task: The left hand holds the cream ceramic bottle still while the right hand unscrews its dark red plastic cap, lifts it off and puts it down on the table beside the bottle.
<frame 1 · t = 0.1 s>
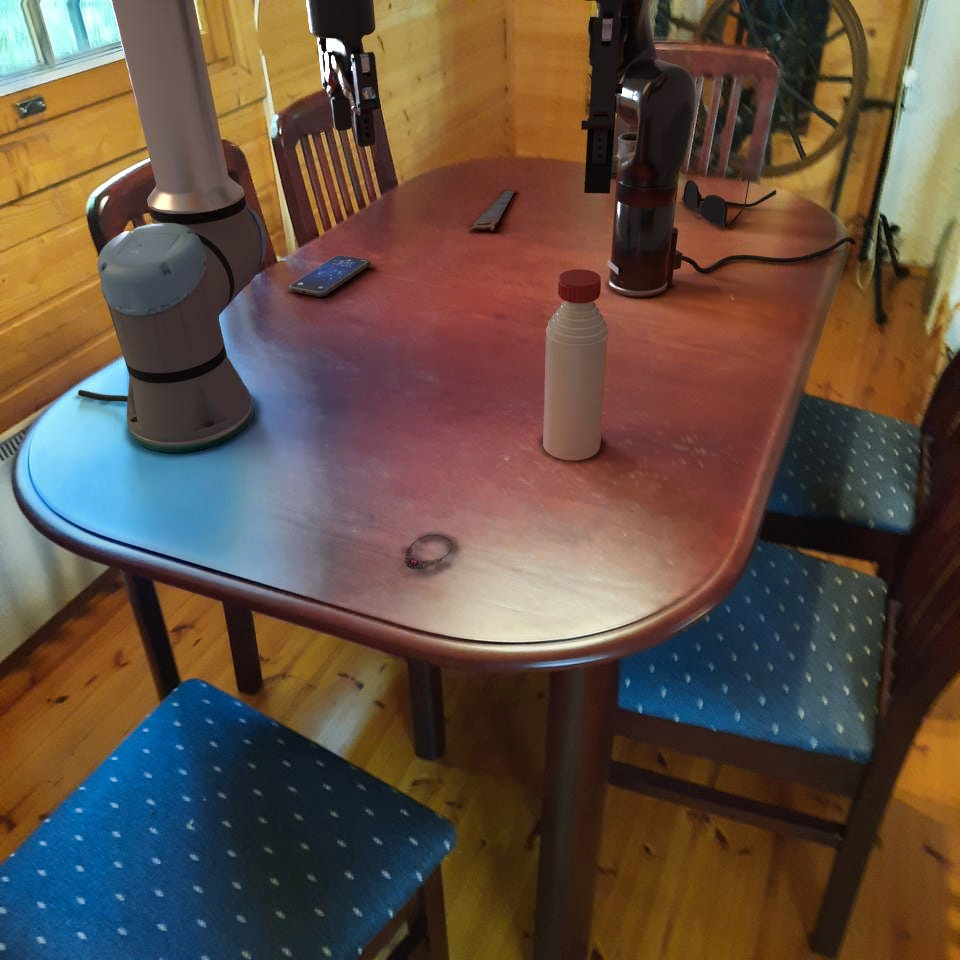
left hand: (599, 173, 96), 28 cm above the table, tool pointing down, fingers open, 13 cm apart
right hand: (354, 137, 106), 29 cm above the table, tool pointing down, fingers open, 8 cm apart
ring: (427, 555, 87), on the table
sunglasses: (729, 212, 165), on the table
cap: (579, 280, 90), point 21 cm above the table, screwed on, not yet turned
pipe: (619, 176, 184), on the table
smartphone: (331, 278, 143), on the table
bottle: (571, 444, 103), on the table
hand saw: (497, 212, 168), on the table
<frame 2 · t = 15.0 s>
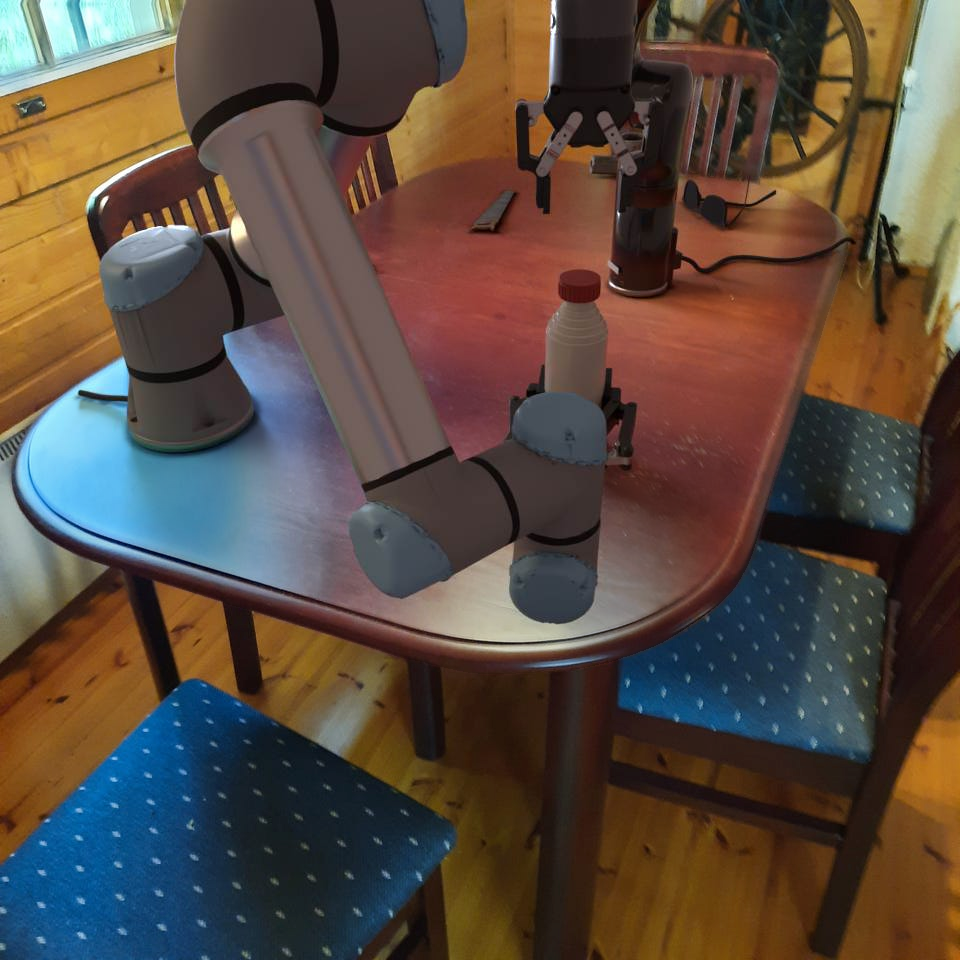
left hand: (576, 376, 103), 6 cm above the table, tool horizontal, fingers closed on bottle, 7 cm apart
right hand: (583, 210, 86), 28 cm above the table, tool pointing down, fingers open, 7 cm apart
bottle: (571, 444, 103), on the table, touching left hand
everything else where it was.
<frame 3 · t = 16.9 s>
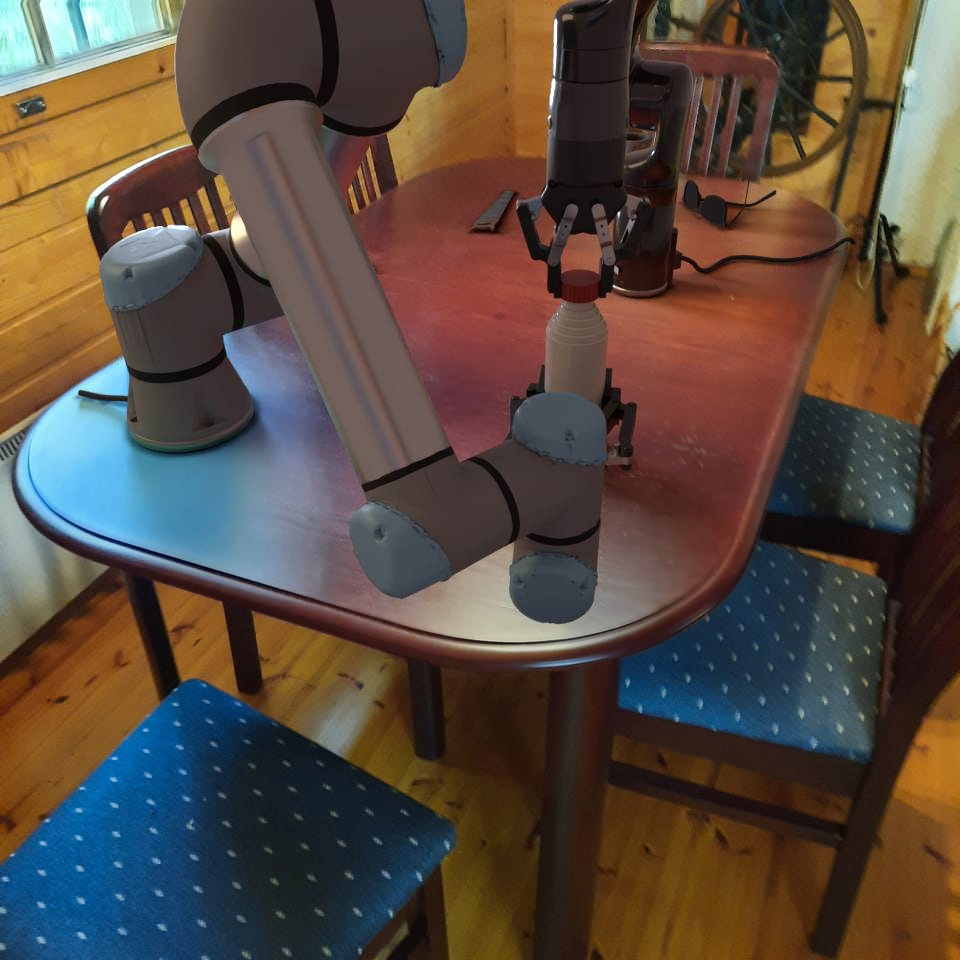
left hand: (576, 376, 103), 6 cm above the table, tool horizontal, fingers closed on bottle, 7 cm apart
right hand: (578, 294, 91), 19 cm above the table, tool pointing down, fingers closed on cap, 4 cm apart
cap: (579, 280, 90), point 21 cm above the table, screwed on, not yet turned, touching right hand
bottle: (571, 444, 103), on the table, touching left hand
everything else where it was.
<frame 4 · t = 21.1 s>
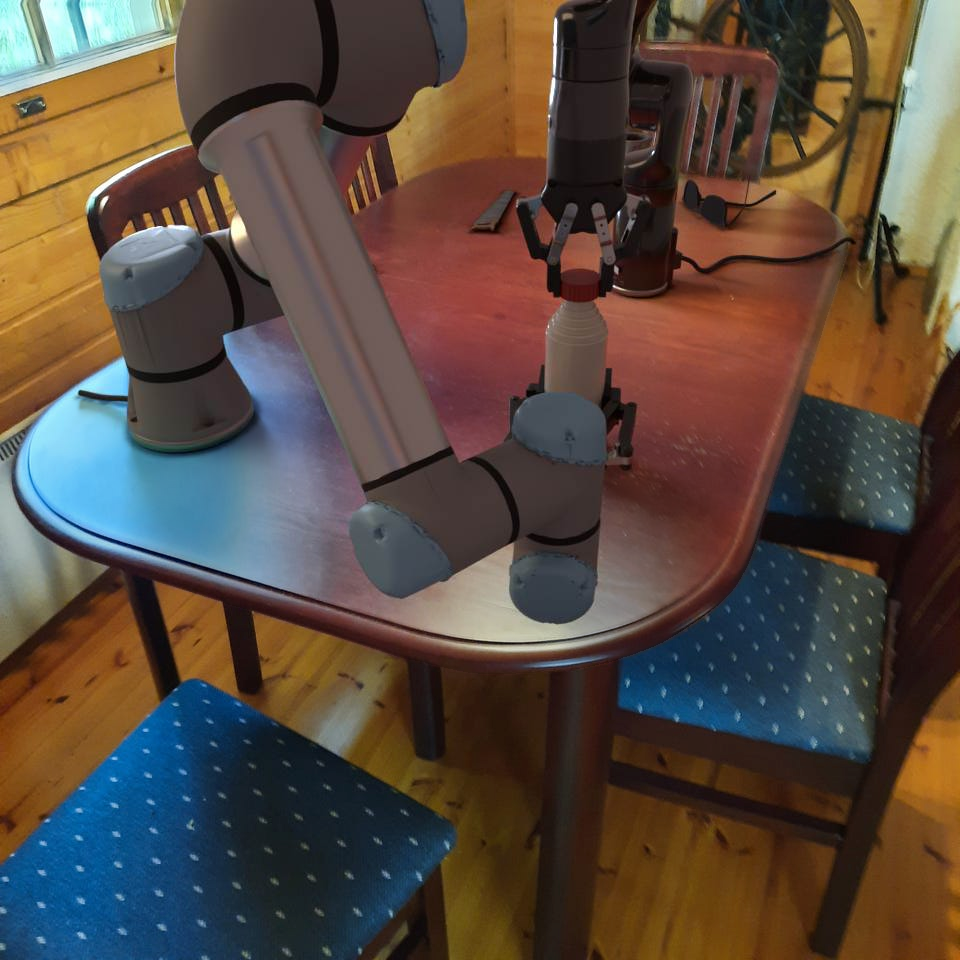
left hand: (576, 376, 103), 6 cm above the table, tool horizontal, fingers closed on bottle, 7 cm apart
right hand: (578, 293, 91), 19 cm above the table, tool pointing down, fingers closed on cap, 4 cm apart
cap: (579, 279, 90), point 21 cm above the table, turned 100° so far, risen 0.1 cm, still on its thread, touching right hand
bottle: (571, 444, 103), on the table, touching left hand
everything else where it was.
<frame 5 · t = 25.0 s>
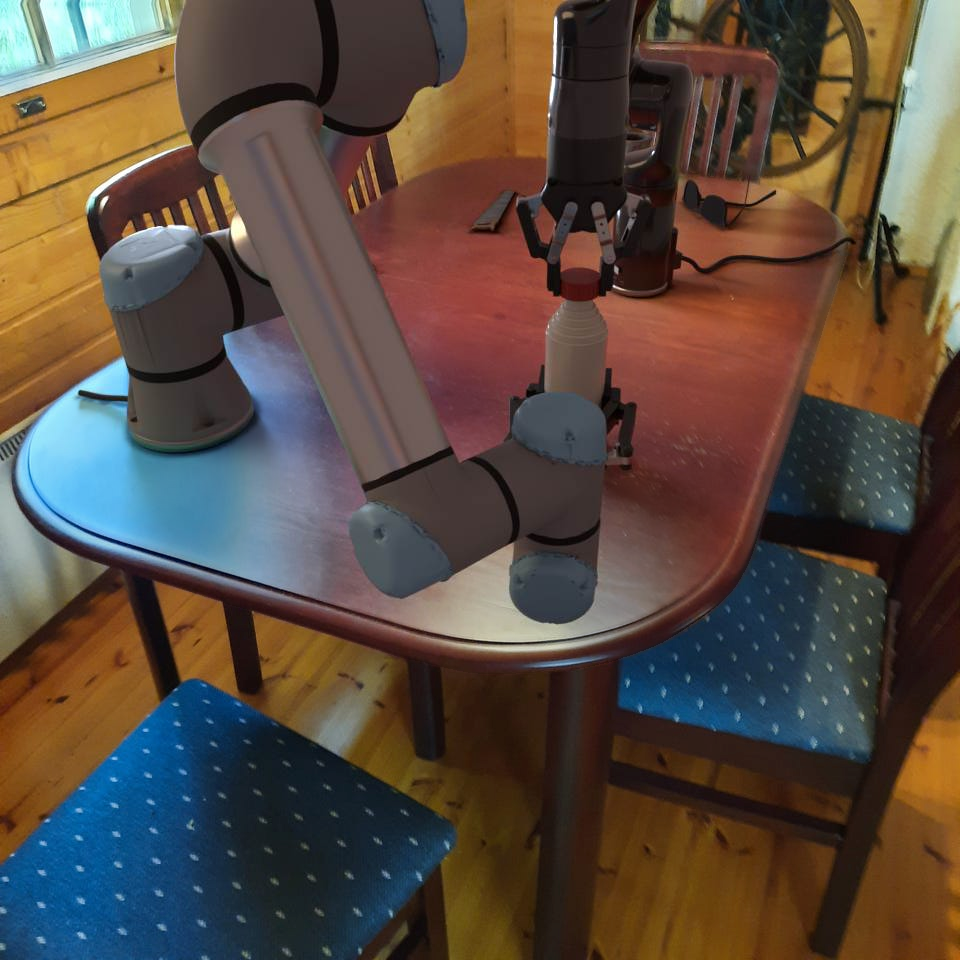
left hand: (576, 376, 103), 6 cm above the table, tool horizontal, fingers closed on bottle, 7 cm apart
right hand: (578, 293, 91), 19 cm above the table, tool pointing down, fingers closed on cap, 4 cm apart
cap: (579, 278, 90), point 21 cm above the table, turned 199° so far, risen 0.2 cm, still on its thread, touching right hand
bottle: (571, 444, 103), on the table, touching left hand
everything else where it was.
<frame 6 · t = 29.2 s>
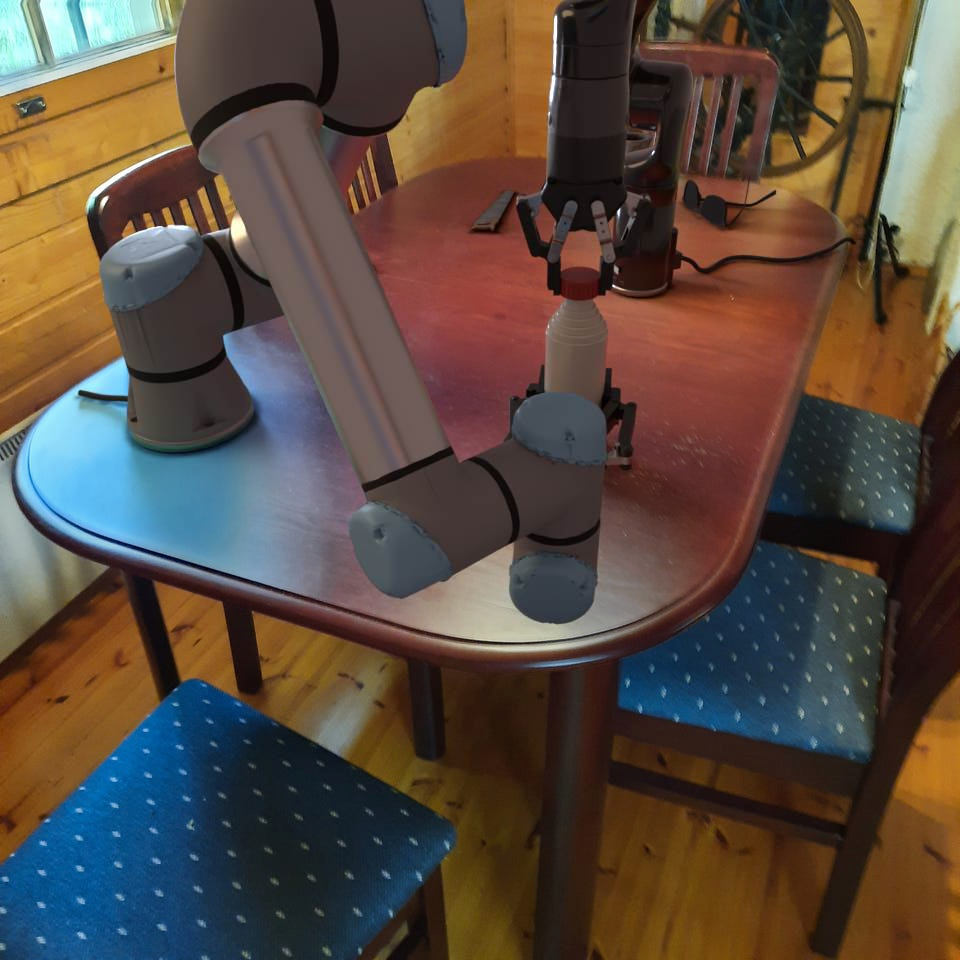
left hand: (576, 376, 103), 6 cm above the table, tool horizontal, fingers closed on bottle, 7 cm apart
right hand: (578, 292, 91), 20 cm above the table, tool pointing down, fingers closed on cap, 4 cm apart
cap: (579, 277, 90), point 21 cm above the table, turned 299° so far, risen 0.3 cm, still on its thread, touching right hand
bottle: (571, 444, 103), on the table, touching left hand
everything else where it was.
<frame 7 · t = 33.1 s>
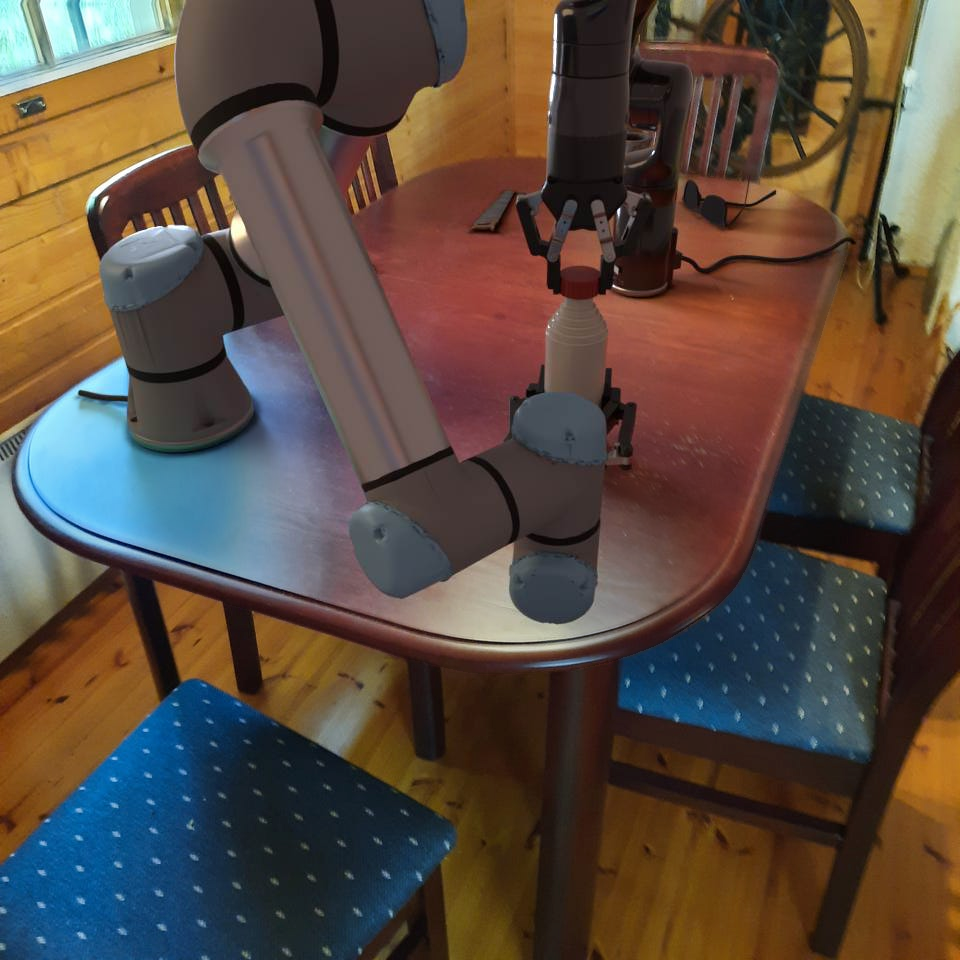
left hand: (575, 376, 103), 6 cm above the table, tool horizontal, fingers closed on bottle, 7 cm apart
right hand: (578, 291, 91), 20 cm above the table, tool pointing down, fingers closed on cap, 4 cm apart
cap: (579, 276, 90), point 21 cm above the table, turned 399° so far, risen 0.4 cm, still on its thread, touching right hand
bottle: (571, 444, 103), on the table, touching left hand
everything else where it was.
when the right hand's fingers open (1 cm above the table, at t = 41.7 s): cap drops 1 cm, point 2 cm above the table.
when the left hand's fingers open (7 cm above the table, at t = 42.7 s): bottle stays where it is, on the table.
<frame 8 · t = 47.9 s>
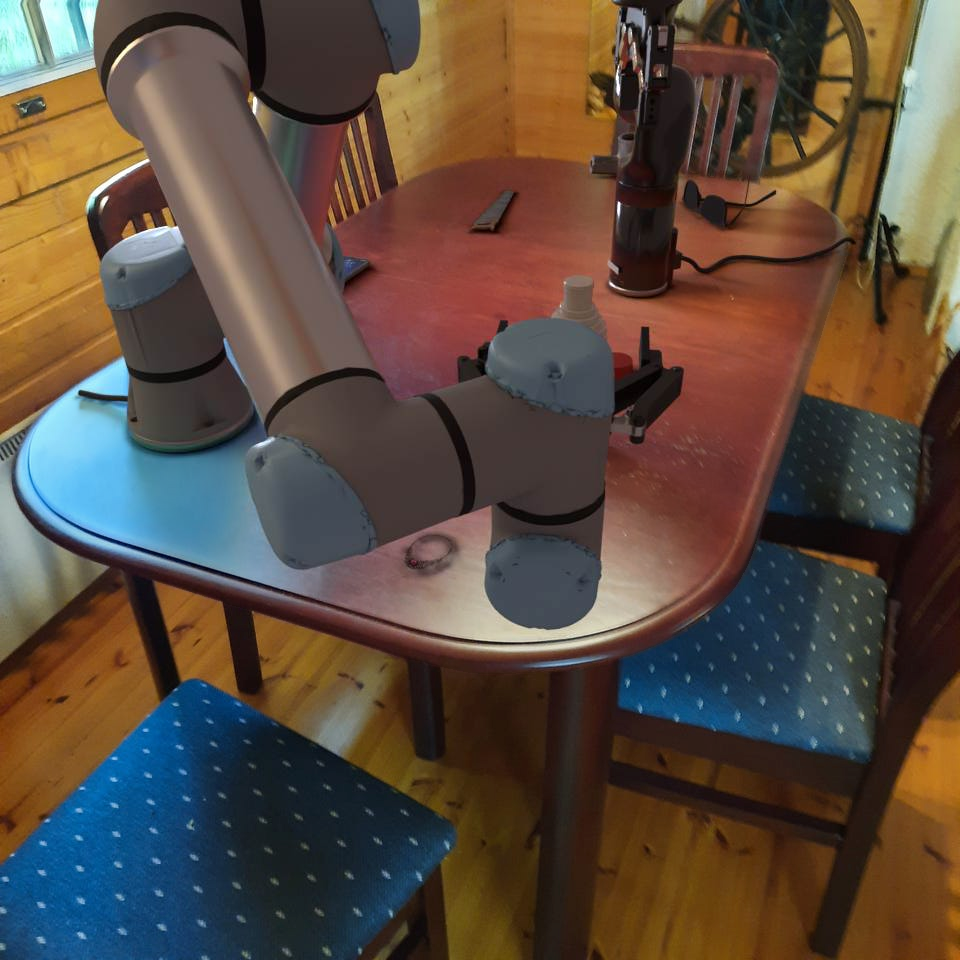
left hand: (573, 335, 83), 19 cm above the table, tool horizontal, fingers open, 13 cm apart
right hand: (637, 119, 97), 33 cm above the table, tool pointing down, fingers open, 8 cm apart
cap: (616, 361, 115), point 2 cm above the table, off its thread
bottle: (570, 444, 103), on the table
everything else where it was.
at the end: cap came off its thread; cap point 1.7 cm above the table; the left hand is holding nothing; the right hand is holding nothing; bottle tilted 0°; bottle moved 0.1 cm from its start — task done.
